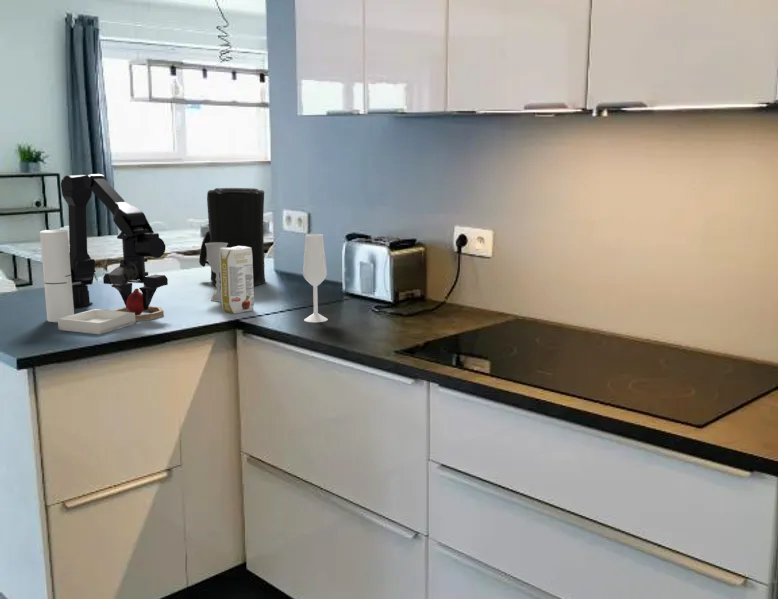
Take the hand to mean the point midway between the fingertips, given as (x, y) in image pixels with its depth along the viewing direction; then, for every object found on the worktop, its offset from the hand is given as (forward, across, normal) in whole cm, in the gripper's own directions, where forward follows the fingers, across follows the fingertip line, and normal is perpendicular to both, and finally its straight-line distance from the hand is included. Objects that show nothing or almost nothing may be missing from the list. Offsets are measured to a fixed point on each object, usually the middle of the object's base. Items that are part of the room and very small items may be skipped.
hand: (137, 309), depth 230 cm
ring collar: (+2, 0, 0) cm, 2 cm away
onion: (+2, 0, 0) cm, 2 cm away
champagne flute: (+2, +50, +15) cm, 52 cm away
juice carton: (+2, +23, +17) cm, 29 cm away
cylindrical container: (+2, -17, -12) cm, 21 cm away
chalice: (+2, +8, +29) cm, 30 cm away
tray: (+2, -1, -15) cm, 15 cm away
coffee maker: (+2, -6, +57) cm, 57 cm away
